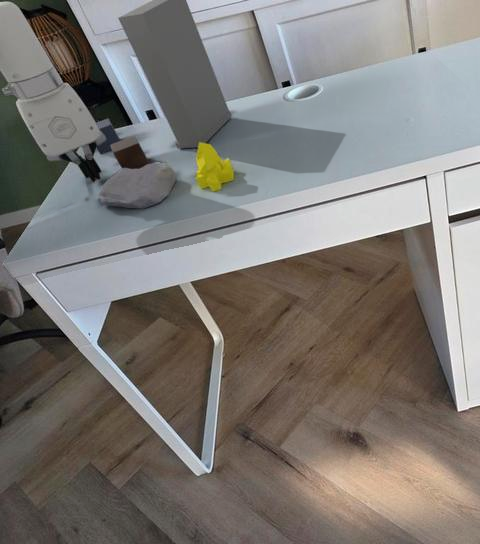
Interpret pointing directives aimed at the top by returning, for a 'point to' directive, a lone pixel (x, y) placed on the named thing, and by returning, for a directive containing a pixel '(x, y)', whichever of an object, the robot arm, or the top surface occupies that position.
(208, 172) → the crumpled paper
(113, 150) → the walnut block
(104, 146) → the slate block
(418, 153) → the top surface
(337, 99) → the top surface
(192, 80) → the tall grey pillar
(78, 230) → the top surface
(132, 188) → the grey rock
